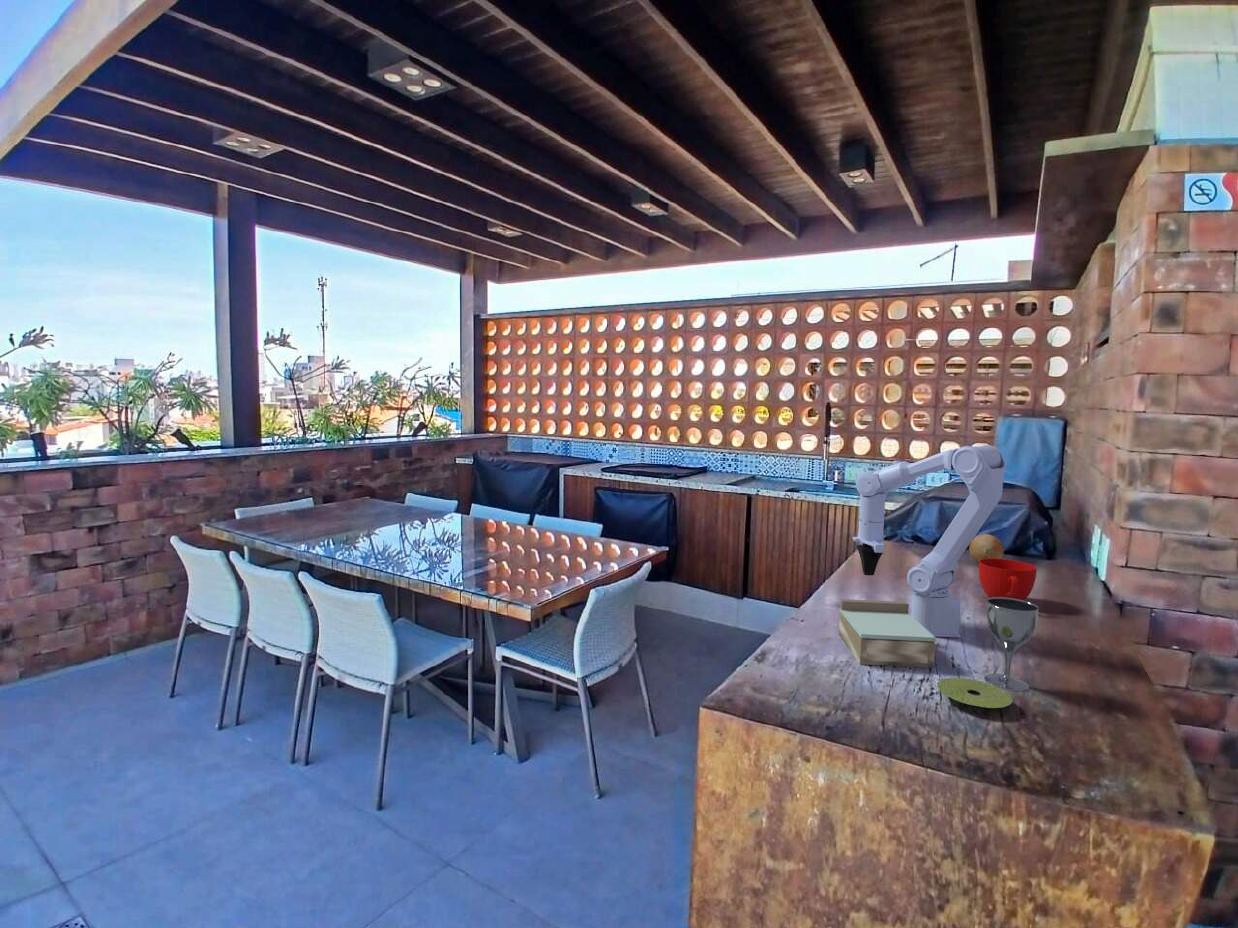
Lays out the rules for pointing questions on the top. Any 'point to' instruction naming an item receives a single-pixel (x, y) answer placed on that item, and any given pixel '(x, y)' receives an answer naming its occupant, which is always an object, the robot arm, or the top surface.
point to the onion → (986, 547)
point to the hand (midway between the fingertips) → (868, 574)
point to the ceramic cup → (1006, 578)
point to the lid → (883, 620)
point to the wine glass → (1010, 634)
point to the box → (887, 649)
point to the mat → (974, 692)
